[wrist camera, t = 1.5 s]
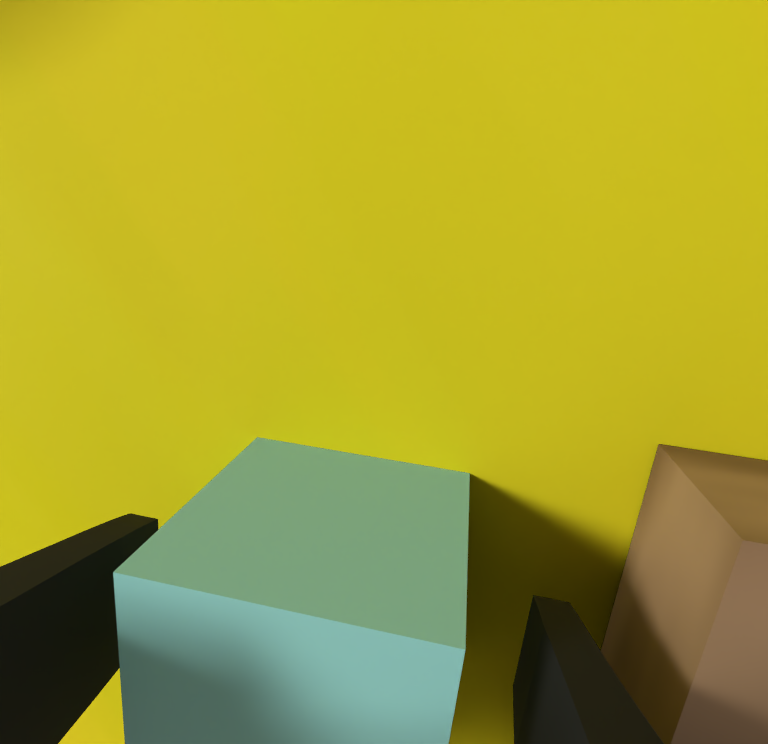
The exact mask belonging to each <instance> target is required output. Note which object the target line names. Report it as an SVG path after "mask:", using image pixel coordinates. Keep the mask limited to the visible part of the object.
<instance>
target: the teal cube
mask: <svg viewBox="0 0 768 744" xmlns="http://www.w3.org/2000/svg"><path fill="white" fill-rule="evenodd" d="M469 486H470V473H465V472H459V471H453V470H447V469H441V468H435V467H429V466H423V465H417V464H411V463H406V462H400V461H394V460H388V459H382V458H376V457H370V456H364V455H358V454H352V453H347V452H341V451H335V450H329V449H323V448H317V447H311V446H305V445H299V444H293V443H288V442H282V441H276V440H270V439H264V438H258V437H257V438H256V439H255V440H254V441H253V442H252V443H251V444H250V445H249V446H247V447H246V448H245V449H244V450H243V451H242V452H241V453H240V454H239V455H238V456H237V457H236V458H235V459H234V460H233V461H231V462H230V463H229V464H228V465H227V466H226V467H225V468H224V469H223V470H222V471H221V472H220V473H219V474H218V475H216V476H215V477H214V478H213V479H212V480H211V481H210V482H209V483H208V484H207V485H206V486H205V487H204V488H203V489H201V490H200V491H199V492H198V493H197V494H196V495H195V496H194V497H193V498H192V499H191V500H190V501H189V502H188V503H187V504H185V505H184V506H183V507H182V508H181V509H180V510H179V511H178V512H177V513H176V514H175V515H174V516H173V517H172V518H170V519H169V520H168V521H167V522H166V523H165V524H164V525H163V526H162V527H161V528H160V529H159V530H158V531H157V532H156V533H154V534H153V535H152V536H151V537H150V538H149V539H148V540H147V541H146V542H145V543H144V544H143V545H142V546H141V547H139V548H138V549H137V550H136V551H135V552H134V553H133V554H132V555H131V556H130V557H129V558H128V559H127V560H126V561H125V562H123V563H122V564H121V565H120V566H119V567H118V568H117V569H116V570H115V571H114V572H113V578H114V592H115V606H116V621H117V635H118V649H119V664H120V678H121V693H122V707H123V721H124V736H125V744H449V738H450V733H451V727H452V722H453V716H454V711H455V705H456V700H457V694H458V689H459V683H460V678H461V672H462V667H463V661H464V655H465V650H466V610H467V569H468V527H469Z"/></svg>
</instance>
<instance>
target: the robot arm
mask: <svg viewBox="0 0 768 744" xmlns="http://www.w3.org/2000/svg"><path fill="white" fill-rule="evenodd" d="M157 531H158V519H155V518H150V517H145V516H140V515H135V514H127V515H124V516H121V517H118V518H116V519H113V520H110V521H108V522H105V523H103V524H100V525H98V526H95V527H93V528H91V529H88V530H86V531H83V532H81V533H79V534H76V535H74V536H72V537H69V538H67V539H65V540H62V541H60V542H58V543H55V544H53V545H51V546H48V547H46V548H44V549H41V550H39V551H36V552H34V553H32V554H29V555H27V556H25V557H22V558H20V559H18V560H15V561H13V562H11V563H8V564H6V565H3V566H1V567H0V744H58V743H59V742H60V741H61V739H62V738H63V737H64V736H65V734H66V733H67V732H68V731H69V729H70V728H71V727H72V726H73V725H74V723H75V722H76V721H77V720H78V718H79V717H80V716H81V715H82V714H83V712H84V711H85V710H86V709H87V707H88V706H89V705H90V704H91V703H92V701H93V700H94V699H95V698H96V696H97V695H98V694H99V693H100V691H101V690H102V689H103V688H104V686H105V685H106V684H107V683H108V681H109V680H110V679H111V678H112V676H113V675H114V674H115V673H116V671H117V670H118V669H119V668H120V664H119V649H118V635H117V621H116V606H115V592H114V578H113V572H114V571H115V570H116V569H117V568H118V567H119V566H120V565H121V564H122V563H123V562H125V561H126V560H127V559H128V558H129V557H130V556H131V555H132V554H133V553H134V552H135V551H136V550H137V549H138V548H139V547H141V546H142V545H143V544H144V543H145V542H146V541H147V540H148V539H149V538H150V537H151V536H152V535H153V534H154V533H156V532H157ZM513 710H514V744H664V743H663V742H662V740H661V739H660V737H659V736H658V735H657V733H656V732H655V730H654V729H653V728H652V726H651V725H650V723H649V722H648V720H647V719H646V718H645V716H644V715H643V713H642V712H641V710H640V709H639V707H638V706H637V705H636V703H635V702H634V700H633V699H632V697H631V696H630V695H629V693H628V692H627V690H626V689H625V687H624V686H623V684H622V683H621V681H620V680H619V678H618V677H617V675H616V674H615V672H614V671H613V669H612V668H611V666H610V665H609V663H608V661H607V660H606V658H605V657H604V655H603V654H602V652H601V651H600V649H599V648H598V646H597V644H596V643H595V641H594V640H593V638H592V637H591V635H590V633H589V632H588V630H587V629H586V627H585V625H584V624H583V622H582V621H581V619H580V618H579V616H578V614H577V613H576V611H575V610H574V608H573V607H572V606H571V604H570V603H569V602H565V601H560V600H555V599H550V598H545V597H540V596H535V595H533V599H532V603H531V608H530V612H529V617H528V621H527V626H526V630H525V635H524V639H523V644H522V648H521V653H520V657H519V662H518V666H517V670H516V675H515V679H514V684H513Z"/></svg>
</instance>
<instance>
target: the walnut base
mask: <svg viewBox="0 0 768 744" xmlns="http://www.w3.org/2000/svg"><path fill="white" fill-rule="evenodd" d="M601 652H602V654H603V655H604V657H605V658H606V660H607V661H608V663H609V665H610V666H611V668H612V669H613V671H614V672H615V674H616V675H617V677H618V678H619V680H620V681H621V683H622V684H623V686H624V687H625V689H626V690H627V692H628V693H629V695H630V696H631V697H632V699H633V700H634V702H635V703H636V705H637V706H638V707H639V709H640V710H641V712H642V713H643V715H644V716H645V718H646V719H647V720H648V722H649V723H650V725H651V726H652V728H653V729H654V730H655V732H656V733H657V735H658V736H659V737H660V739H661V740H662V742H663V743H664V744H768V461H765V460H759V459H752V458H746V457H739V456H733V455H726V454H720V453H713V452H707V451H700V450H694V449H687V448H681V447H674V446H668V445H662V444H659V445H658V448H657V452H656V455H655V459H654V463H653V466H652V470H651V473H650V477H649V480H648V484H647V488H646V491H645V495H644V498H643V502H642V505H641V509H640V513H639V516H638V520H637V523H636V527H635V530H634V534H633V538H632V541H631V545H630V548H629V552H628V555H627V559H626V563H625V566H624V570H623V573H622V577H621V580H620V584H619V588H618V591H617V595H616V598H615V602H614V605H613V609H612V613H611V616H610V620H609V623H608V627H607V630H606V634H605V638H604V641H603V645H602V648H601Z"/></svg>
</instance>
